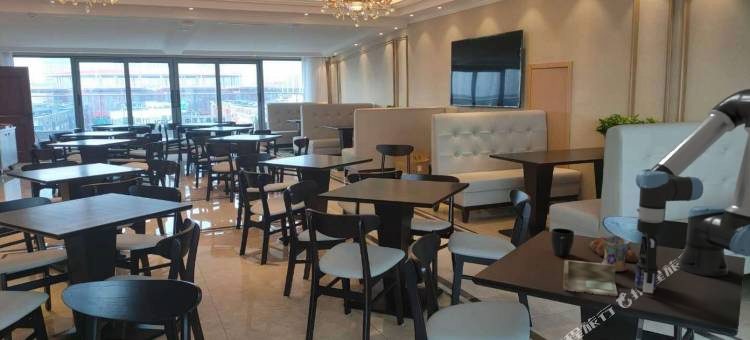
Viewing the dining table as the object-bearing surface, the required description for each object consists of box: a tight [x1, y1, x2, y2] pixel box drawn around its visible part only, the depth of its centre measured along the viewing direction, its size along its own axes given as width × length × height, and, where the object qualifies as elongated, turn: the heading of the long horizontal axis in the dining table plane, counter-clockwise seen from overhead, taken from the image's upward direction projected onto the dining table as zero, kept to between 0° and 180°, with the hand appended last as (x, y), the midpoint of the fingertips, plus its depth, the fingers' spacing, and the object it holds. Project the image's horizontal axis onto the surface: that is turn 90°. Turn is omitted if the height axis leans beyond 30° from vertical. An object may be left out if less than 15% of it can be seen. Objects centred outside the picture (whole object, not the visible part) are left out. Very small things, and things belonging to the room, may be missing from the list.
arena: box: [562, 259, 619, 297], centre depth 176 cm, size 16×14×6 cm
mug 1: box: [550, 227, 575, 258], centre depth 206 cm, size 8×12×10 cm
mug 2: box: [601, 236, 631, 273], centre depth 193 cm, size 12×9×11 cm
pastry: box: [588, 235, 637, 264], centre depth 208 cm, size 17×15×8 cm
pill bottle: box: [634, 254, 659, 293], centre depth 173 cm, size 6×6×11 cm
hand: (645, 285), depth 173 cm, fingers open, 11 cm apart
